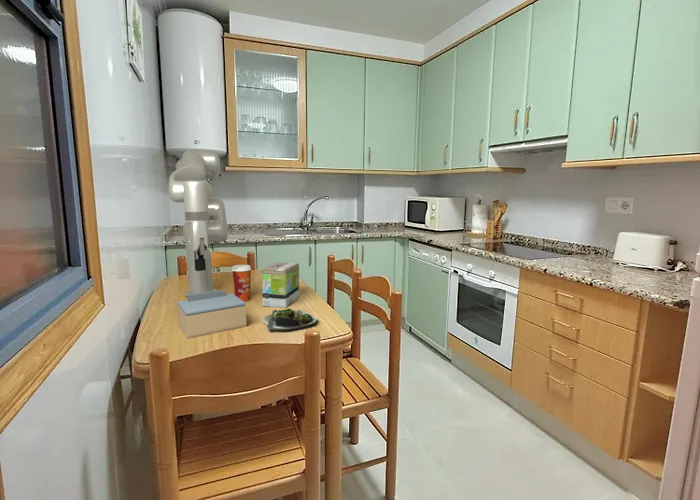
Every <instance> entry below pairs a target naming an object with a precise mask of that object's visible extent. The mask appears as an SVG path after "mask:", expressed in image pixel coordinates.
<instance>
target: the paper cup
mask: <svg viewBox="0 0 700 500" xmlns="http://www.w3.org/2000/svg"><path fill="white" fill-rule="evenodd" d="M231 271H232V279H233V286H234V287H233V288H234V295H235V296H237V297H238V298H239V299H241V300H242V301H243V302H245V303H246V302H249V301H251V279H252V278H251V275H252V268H251V265H249V264H236V265H233V266H232V268H231Z"/></svg>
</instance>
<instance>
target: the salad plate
mask: <svg viewBox="0 0 700 500" xmlns="http://www.w3.org/2000/svg"><path fill="white" fill-rule="evenodd" d="M262 322H263V323H264V324H265V325H266V328H267V329H268V330H271V331H273V332H277V333H292V332H296V331H302V330H306V329H309V328H312V327H315V325H316V324H317V323H318V318H317V317H316V316H314V315H312V314H310V313H309V312H308V311H306V310H299V309H291V308H289V307H286V308H285V309H282V308H279V310H277V309H273V310H272V312H271V314H268V315H266V316H264V317H263V318H262Z"/></svg>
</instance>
